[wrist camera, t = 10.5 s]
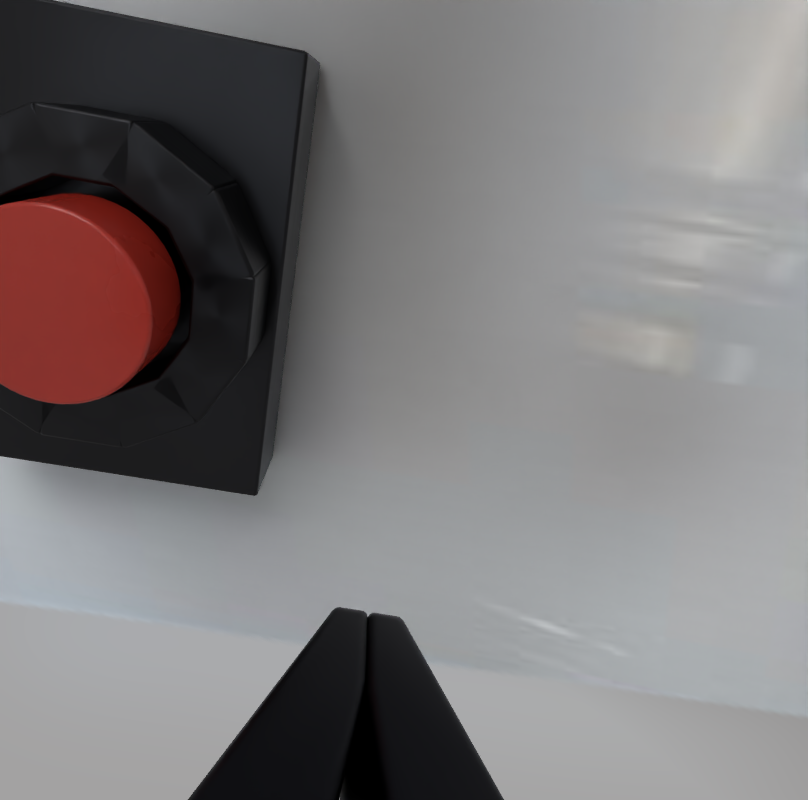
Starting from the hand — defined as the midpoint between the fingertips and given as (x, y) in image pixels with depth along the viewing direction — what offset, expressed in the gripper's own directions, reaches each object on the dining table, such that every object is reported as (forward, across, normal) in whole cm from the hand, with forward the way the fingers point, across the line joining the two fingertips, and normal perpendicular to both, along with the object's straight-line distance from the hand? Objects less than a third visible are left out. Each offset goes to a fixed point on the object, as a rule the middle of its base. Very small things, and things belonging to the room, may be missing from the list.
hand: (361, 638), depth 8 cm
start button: (+6, +6, -2) cm, 9 cm away
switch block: (+10, +6, -2) cm, 12 cm away
